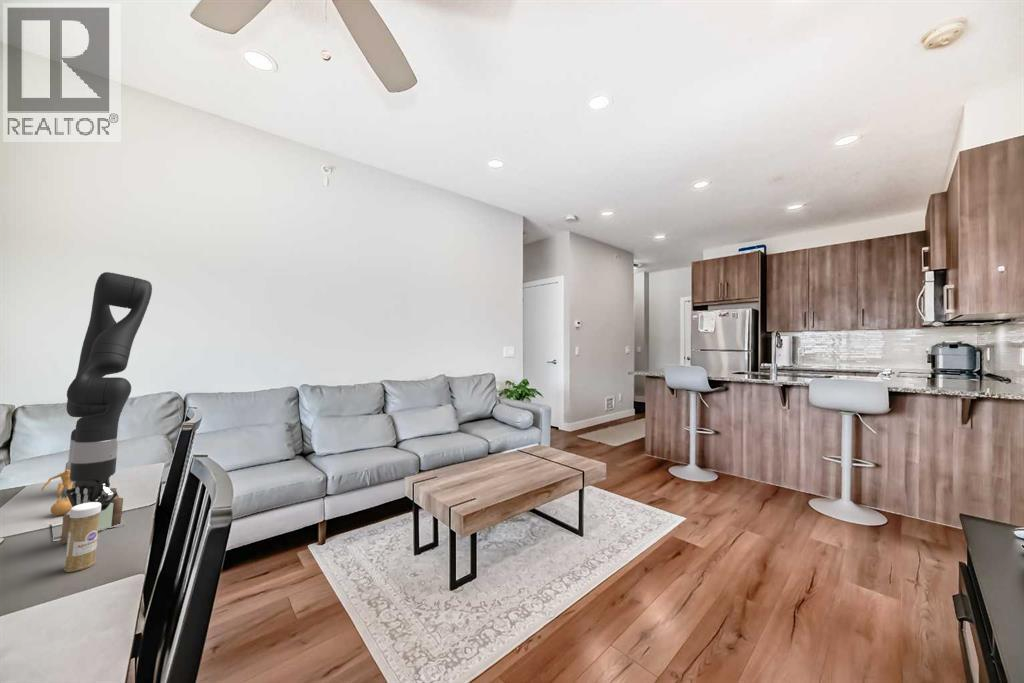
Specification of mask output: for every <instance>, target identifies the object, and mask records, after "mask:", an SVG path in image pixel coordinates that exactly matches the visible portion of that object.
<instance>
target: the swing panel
mask: <svg viewBox="0 0 1024 683" xmlns="http://www.w3.org/2000/svg"><path fill="white" fill-rule="evenodd" d="M113 504H114V503H110V505H109V506H108V507H107V508H106V510H103V511H100V514H99V522H98V531H99V530H102V529H105V528H107V527H110V526H111V524H112V514H113ZM69 515H70V513H69V514H68V513H67V514H64V515H62V521H63V522H62V521H61V522H62V531H61V541H59V543H60V544H67V540H68V532H69V526H70V517H69Z"/></svg>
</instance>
